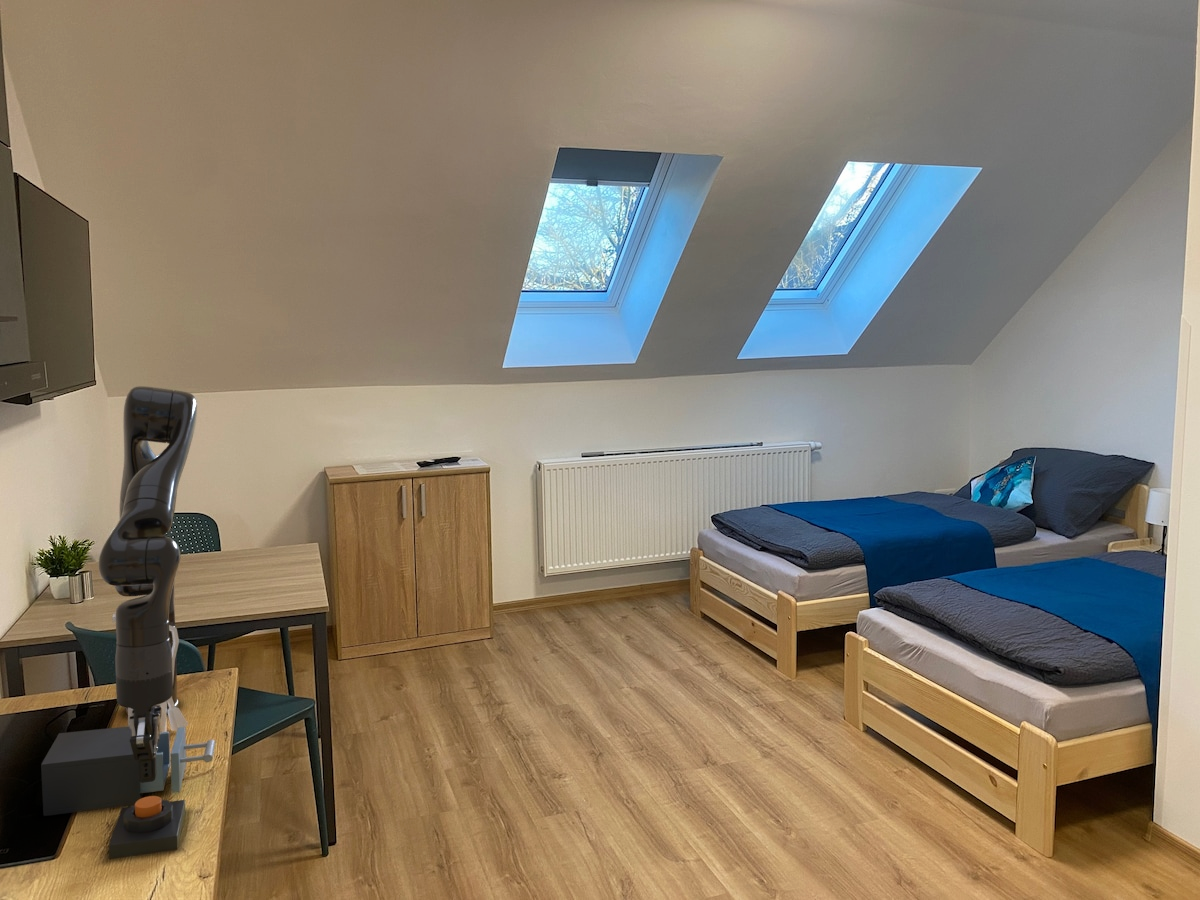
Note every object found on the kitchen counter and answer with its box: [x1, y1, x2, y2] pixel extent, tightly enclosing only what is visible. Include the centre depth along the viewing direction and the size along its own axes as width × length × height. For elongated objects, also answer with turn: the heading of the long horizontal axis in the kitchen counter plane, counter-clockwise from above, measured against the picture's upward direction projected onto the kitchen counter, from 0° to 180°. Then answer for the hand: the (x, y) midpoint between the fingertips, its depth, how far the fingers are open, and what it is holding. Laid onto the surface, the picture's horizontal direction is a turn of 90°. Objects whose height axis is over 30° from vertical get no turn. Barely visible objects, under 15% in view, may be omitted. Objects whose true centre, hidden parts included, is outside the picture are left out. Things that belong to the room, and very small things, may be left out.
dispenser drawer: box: [140, 727, 216, 794], centre depth 150 cm, size 17×10×7 cm, turn 109°
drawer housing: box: [40, 725, 144, 817], centre depth 147 cm, size 14×12×9 cm
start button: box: [135, 795, 162, 818], centre depth 135 cm, size 4×4×2 cm
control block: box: [108, 799, 186, 860], centre depth 136 cm, size 11×9×4 cm
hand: (148, 779), depth 135 cm, fingers closed
